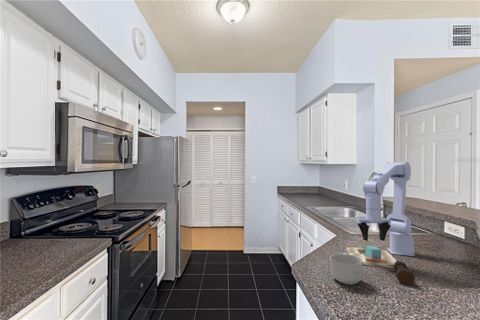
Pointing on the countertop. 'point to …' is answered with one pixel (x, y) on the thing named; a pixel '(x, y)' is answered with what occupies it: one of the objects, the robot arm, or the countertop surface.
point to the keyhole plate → (383, 262)
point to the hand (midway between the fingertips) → (373, 240)
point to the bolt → (403, 273)
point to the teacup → (346, 268)
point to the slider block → (372, 252)
